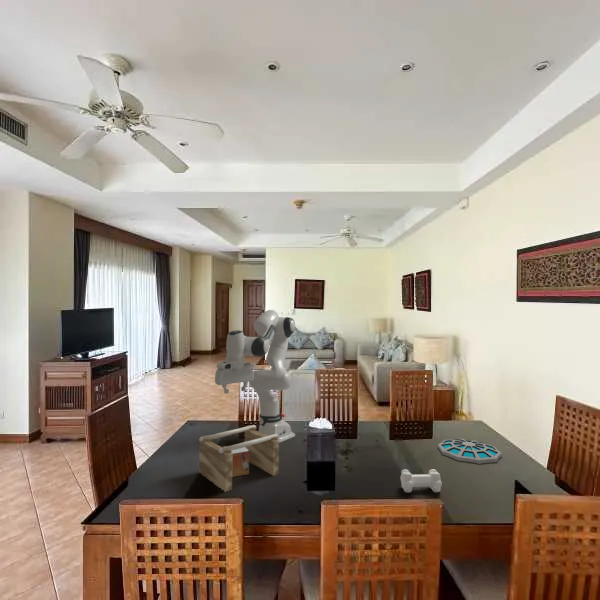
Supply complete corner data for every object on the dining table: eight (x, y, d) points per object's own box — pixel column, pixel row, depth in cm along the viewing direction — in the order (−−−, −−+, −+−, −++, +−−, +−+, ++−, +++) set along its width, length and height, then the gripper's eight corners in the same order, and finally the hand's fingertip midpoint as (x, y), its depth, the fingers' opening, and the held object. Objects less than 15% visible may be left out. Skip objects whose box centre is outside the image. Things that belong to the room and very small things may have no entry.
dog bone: (435, 487, 162) (434, 467, 163) (443, 494, 154) (442, 473, 155) (399, 487, 162) (399, 467, 163) (406, 495, 153) (405, 474, 154)
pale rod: (254, 428, 191) (254, 424, 191) (256, 429, 190) (256, 425, 190) (198, 441, 172) (198, 437, 172) (200, 442, 171) (200, 438, 171)
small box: (232, 477, 169) (232, 453, 170) (228, 472, 174) (228, 449, 175) (249, 474, 173) (249, 450, 173) (245, 469, 178) (245, 446, 178)
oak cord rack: (249, 458, 192) (249, 424, 192) (278, 473, 173) (278, 437, 174) (199, 472, 174) (199, 436, 175) (225, 492, 156) (225, 451, 156)
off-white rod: (276, 437, 178) (276, 433, 178) (278, 438, 176) (278, 434, 176) (217, 453, 158) (217, 448, 158) (220, 454, 157) (220, 449, 157)
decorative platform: (459, 466, 182) (459, 456, 182) (427, 445, 211) (427, 436, 211) (515, 461, 189) (515, 451, 189) (476, 441, 217) (476, 432, 217)
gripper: (250, 361, 198) (249, 388, 198) (213, 364, 185) (213, 393, 185) (256, 362, 193) (256, 390, 193) (219, 366, 180) (219, 395, 180)
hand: (235, 392), depth 189 cm, fingers open, 8 cm apart
